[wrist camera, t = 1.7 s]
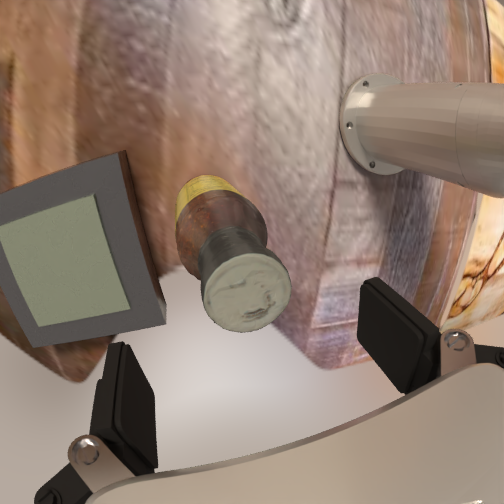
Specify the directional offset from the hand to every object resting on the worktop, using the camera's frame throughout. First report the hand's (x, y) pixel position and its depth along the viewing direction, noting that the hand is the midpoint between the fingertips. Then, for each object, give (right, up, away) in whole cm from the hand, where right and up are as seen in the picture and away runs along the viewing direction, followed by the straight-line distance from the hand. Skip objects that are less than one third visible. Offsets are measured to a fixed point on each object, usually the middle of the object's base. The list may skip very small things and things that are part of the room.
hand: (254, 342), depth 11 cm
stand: (-20, +3, +18) cm, 27 cm away
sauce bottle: (-5, +9, +20) cm, 22 cm away
